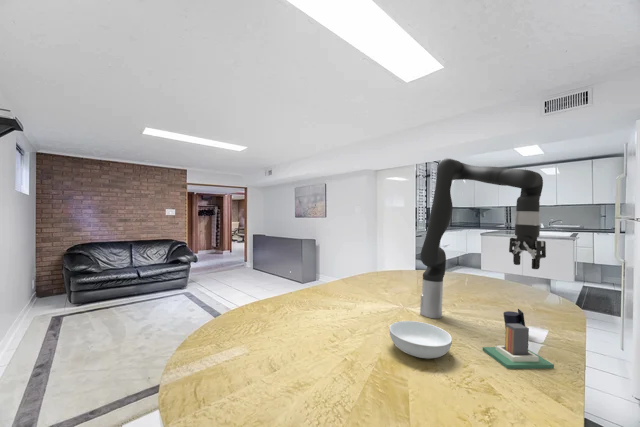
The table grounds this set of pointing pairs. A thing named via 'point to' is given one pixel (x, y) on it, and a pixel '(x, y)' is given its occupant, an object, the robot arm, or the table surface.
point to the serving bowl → (420, 339)
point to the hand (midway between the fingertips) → (525, 266)
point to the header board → (517, 359)
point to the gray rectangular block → (516, 339)
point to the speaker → (514, 318)
